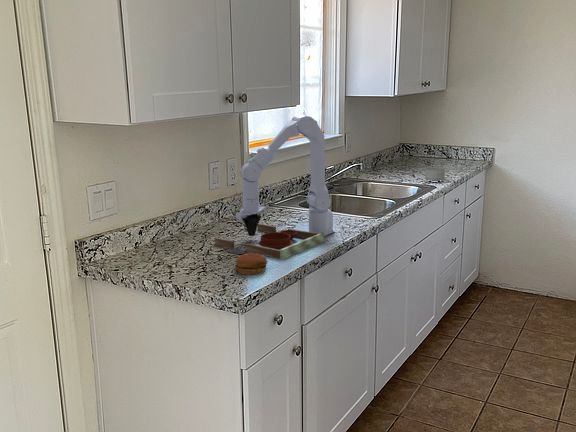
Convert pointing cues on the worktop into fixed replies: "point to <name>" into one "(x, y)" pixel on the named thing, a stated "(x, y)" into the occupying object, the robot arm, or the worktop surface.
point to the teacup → (434, 173)
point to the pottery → (278, 239)
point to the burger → (251, 264)
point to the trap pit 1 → (235, 251)
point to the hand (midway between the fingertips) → (251, 235)
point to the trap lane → (283, 253)
